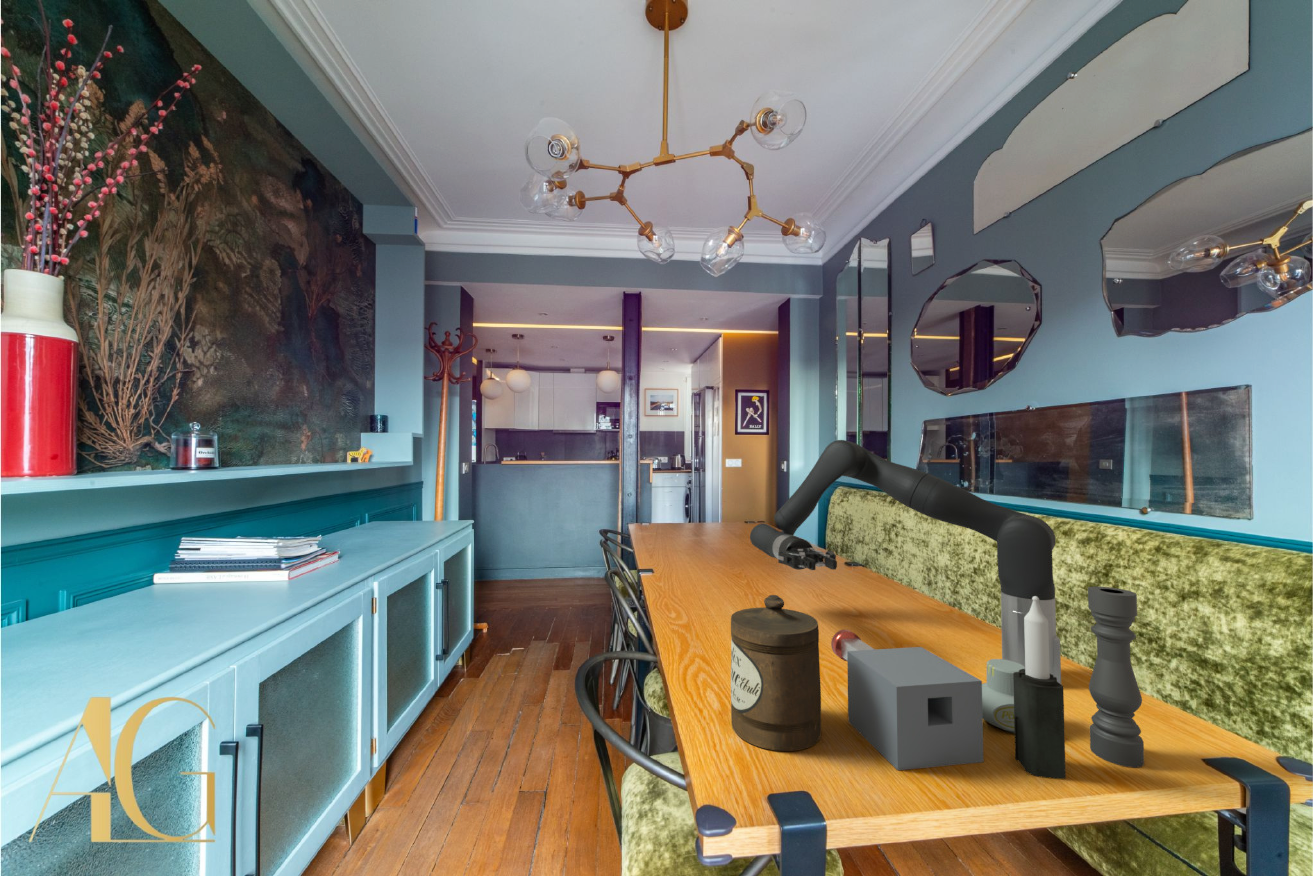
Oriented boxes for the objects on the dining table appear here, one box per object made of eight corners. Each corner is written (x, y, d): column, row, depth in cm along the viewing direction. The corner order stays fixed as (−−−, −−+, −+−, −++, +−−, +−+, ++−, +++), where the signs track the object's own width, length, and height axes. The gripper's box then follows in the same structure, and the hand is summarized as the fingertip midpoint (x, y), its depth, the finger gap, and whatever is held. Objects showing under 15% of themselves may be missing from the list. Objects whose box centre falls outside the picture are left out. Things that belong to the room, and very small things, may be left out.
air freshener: (980, 731, 86) (978, 670, 86) (964, 708, 94) (963, 652, 94) (1056, 741, 83) (1055, 678, 84) (1034, 716, 91) (1032, 659, 92)
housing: (848, 721, 89) (847, 651, 90) (921, 715, 91) (920, 646, 92) (897, 770, 75) (896, 686, 76) (983, 762, 77) (981, 680, 78)
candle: (1069, 780, 73) (1064, 601, 74) (1028, 775, 74) (1024, 599, 75) (1049, 759, 78) (1045, 592, 79) (1012, 755, 79) (1008, 590, 80)
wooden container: (726, 705, 95) (726, 585, 96) (807, 707, 94) (807, 585, 95) (736, 752, 80) (736, 608, 81) (833, 754, 80) (831, 609, 80)
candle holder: (1099, 762, 78) (1095, 593, 78) (1083, 740, 83) (1079, 584, 84) (1152, 771, 75) (1147, 598, 76) (1132, 749, 81) (1127, 588, 82)
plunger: (831, 658, 104) (831, 630, 104) (857, 656, 105) (856, 628, 105) (890, 705, 84) (890, 671, 84) (922, 703, 85) (921, 668, 85)
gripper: (765, 536, 129) (793, 548, 112) (818, 535, 131) (854, 547, 114) (765, 566, 129) (793, 583, 112) (819, 565, 131) (855, 581, 114)
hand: (824, 565), depth 113 cm, fingers open, 4 cm apart
